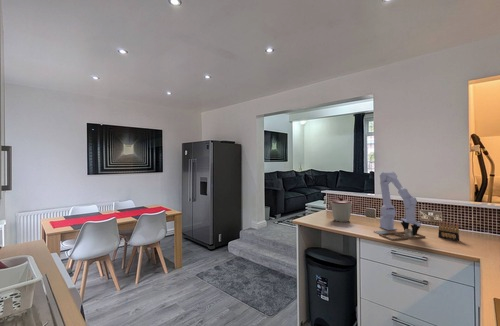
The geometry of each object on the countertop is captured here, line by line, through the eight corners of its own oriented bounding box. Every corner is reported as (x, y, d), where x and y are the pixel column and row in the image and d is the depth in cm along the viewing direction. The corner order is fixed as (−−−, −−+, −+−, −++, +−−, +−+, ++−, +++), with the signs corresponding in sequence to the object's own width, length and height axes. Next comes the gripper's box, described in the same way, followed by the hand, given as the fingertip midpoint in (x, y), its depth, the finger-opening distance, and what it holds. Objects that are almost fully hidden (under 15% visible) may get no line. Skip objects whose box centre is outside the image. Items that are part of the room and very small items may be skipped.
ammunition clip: (438, 237, 162) (438, 219, 162) (438, 236, 163) (438, 219, 163) (458, 241, 154) (458, 222, 154) (459, 240, 155) (459, 222, 155)
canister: (326, 219, 216) (326, 196, 216) (343, 217, 222) (342, 195, 222) (339, 224, 199) (339, 199, 199) (357, 222, 205) (356, 197, 205)
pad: (373, 231, 176) (373, 231, 176) (385, 231, 178) (385, 230, 178) (380, 234, 169) (380, 234, 169) (392, 233, 171) (392, 233, 171)
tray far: (396, 233, 170) (396, 232, 170) (410, 232, 173) (410, 231, 173) (410, 239, 159) (410, 237, 159) (425, 237, 161) (425, 236, 161)
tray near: (379, 235, 168) (379, 233, 168) (393, 234, 170) (393, 232, 170) (392, 240, 156) (392, 239, 156) (407, 239, 158) (407, 237, 158)
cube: (405, 235, 167) (404, 229, 167) (410, 234, 168) (410, 228, 168) (410, 237, 163) (410, 230, 163) (415, 236, 164) (415, 230, 164)
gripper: (396, 212, 172) (397, 231, 172) (414, 217, 158) (414, 237, 158) (405, 212, 173) (405, 230, 173) (423, 216, 159) (423, 236, 159)
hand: (410, 233), depth 166 cm, fingers open, 6 cm apart
